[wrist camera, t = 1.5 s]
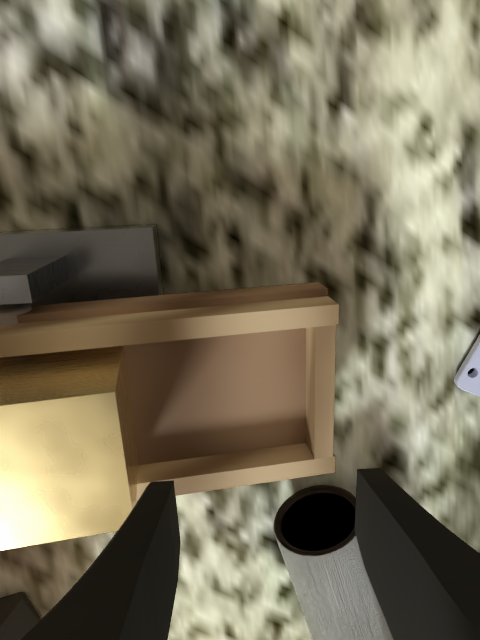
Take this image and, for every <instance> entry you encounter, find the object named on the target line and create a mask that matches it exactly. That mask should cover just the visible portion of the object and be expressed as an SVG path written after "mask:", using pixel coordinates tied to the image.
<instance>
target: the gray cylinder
mask: <svg viewBox="0 0 480 640" xmlns="http://www.w3.org/2000/svg"><path fill="white" fill-rule="evenodd" d="M355 510H356V497H355V496H354V495H353V494H351V493H350V492H348V491H347V490H345V489H342V488H339V487H336V486H330V485H320V486H313V487H309V488H306V489H303V490H301V491H299V492H297V493H295V494H293V495H292V496H291V497H289V498H288V499H287V500H286V501H285V502H284V503H283V504H282V505H281V507H280V508H279V510H278V512H277V514H276V516H275V520H274V533H275V536H276V539H277V542H278V545H279V548H280V550H281V553H282V556H283V559H284V561H285V564H286V567H287V570H288V572H289V575H290V578H291V581H292V583H293V586H294V589H295V592H296V594H297V597H298V600H299V603H300V605H301V608H302V611H303V614H304V616H305V619H306V622H307V625H308V627H309V630H310V633H311V636H312V638H313V640H393V637H392V635H391V632H390V630H389V627H388V625H387V622H386V620H385V617H384V615H383V612H382V610H381V607H380V605H379V603H378V600H377V598H376V595H375V593H374V590H373V588H372V585H371V583H370V580H369V577H368V575H367V572H366V570H365V567H364V563H363V560H362V556H361V553H360V549H359V545H358V541H357V538H356V534H355Z"/></svg>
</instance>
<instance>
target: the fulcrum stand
mask: <svg viewBox="0 0 480 640" xmlns="http://www.w3.org/2000/svg"><path fill="white" fill-rule="evenodd" d="M157 295H164V293H163V283H162V273H161V263H160V253H159V243H158V234H157V224H152V225H131V226H111V227H90V228H70V229H50V230H29V231H9V232H0V307H1V306H6V305H12V304H29V305H31V306H37V305H49V304H61V303H73V302H85V301H97V300H109V299H121V298H133V297H145V296H157Z"/></svg>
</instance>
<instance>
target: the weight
mask: <svg viewBox="0 0 480 640" xmlns="http://www.w3.org/2000/svg"><path fill="white" fill-rule="evenodd" d="M137 477H138V450H137V442H136V435H135V428H134V420H133V413H132V406H131V398H130V391H129V383H128V376H127V369H126V361H125V354H124V347H123V346H114V347H104V348H94V349H83V350H73V351H63V352H53V353H42V354H32V355H22V356H12V357H2V358H0V551H2V550H8V549H14V548H20V547H26V546H31V545H37V544H43V543H49V542H55V541H61V540H67V539H73V538H78V537H84V536H90V535H96V534H102V533H108V532H114V531H118V530H119V528H120V527H121V525H122V524H123V523H124V521H125V520H126V518H127V517H128V515H129V514H130V512H131V511H132V509H133V508H134V506H135V505H136V497H137Z"/></svg>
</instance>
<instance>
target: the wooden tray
mask: <svg viewBox="0 0 480 640" xmlns="http://www.w3.org/2000/svg"><path fill="white" fill-rule="evenodd" d="M336 325H339V304H338V303H337V302H335V301H334V300H332V299H331V298H330V297H328V288H326V287H325V286H323V285H322V284H320V283H319V282H313V283H301V284H289V285H277V286H265V287H253V288H241V289H229V290H217V291H205V292H193V293H181V294H169V295H157V296H145V297H133V298H121V299H109V300H97V301H85V302H73V303H61V304H49V305H37V306H31V305H29V304H12V305H6V306H1V307H0V358H2V357H12V356H22V355H32V354H42V353H53V352H63V351H73V350H83V349H94V348H104V347H114V346H123V347H124V354H125V361H126V369H127V376H128V383H129V391H130V398H131V406H132V413H133V420H134V428H135V435H136V442H137V450H138V477H137V497H136V501H138V500H139V498H140V497H141V495H142V494H143V492H144V490H145V489H146V487H147V485H148V484H149V483H150V482H156V481H172V480H174V488H175V496H176V495H182V494H189V493H196V492H203V491H210V490H217V489H224V488H231V487H238V486H245V485H252V484H259V483H266V482H273V481H280V480H287V479H293V478H300V477H307V476H314V475H321V474H328V473H335V455H334V453H333V433H334V389H335V345H336Z"/></svg>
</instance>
